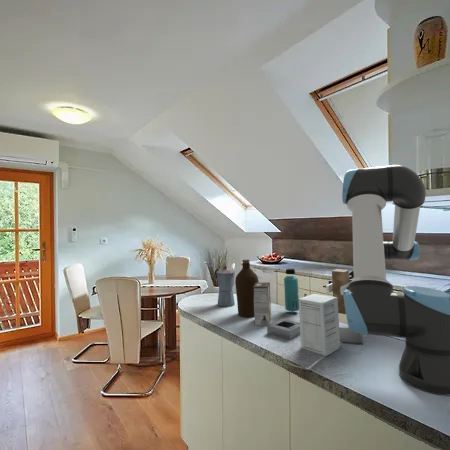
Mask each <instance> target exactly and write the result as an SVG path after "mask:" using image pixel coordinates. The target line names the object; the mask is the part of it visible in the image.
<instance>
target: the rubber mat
mask: <svg viewBox="0 0 450 450" xmlns="http://www.w3.org/2000/svg"><path fill="white" fill-rule="evenodd" d="M339 335H340V343H341V344H349V345H360V344H361V345H363V339H362V334H360V333H354V332H352V331H351V330H350V329H349V327H341V326H339Z"/></svg>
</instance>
